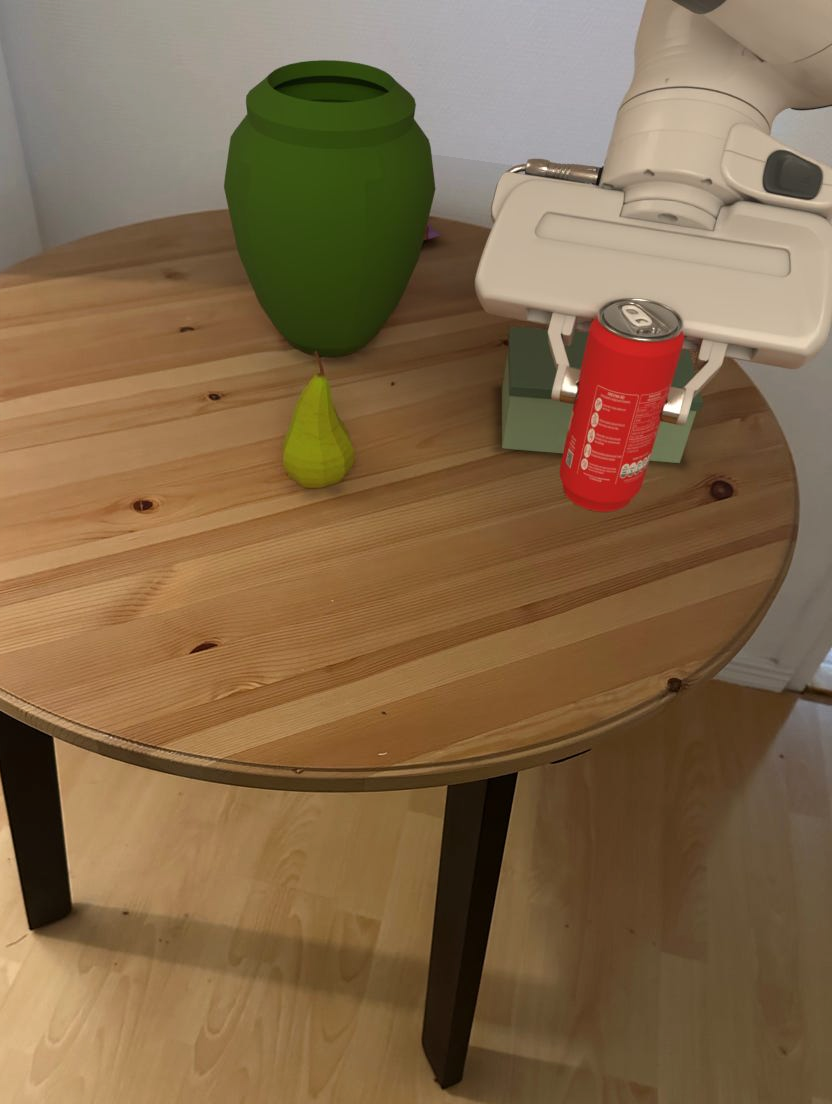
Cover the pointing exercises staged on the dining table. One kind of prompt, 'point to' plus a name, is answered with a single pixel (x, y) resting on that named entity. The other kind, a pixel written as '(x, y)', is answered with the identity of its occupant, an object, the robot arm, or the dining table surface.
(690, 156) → the robot arm
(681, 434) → the box
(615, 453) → the beverage can
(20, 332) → the dining table surface
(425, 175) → the vase
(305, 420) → the fruit
